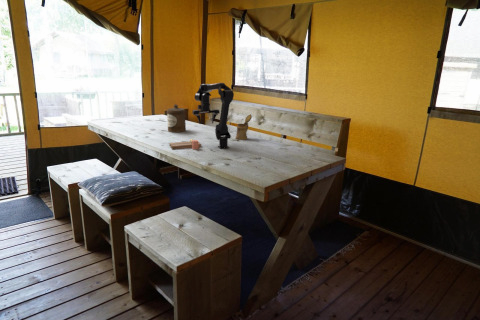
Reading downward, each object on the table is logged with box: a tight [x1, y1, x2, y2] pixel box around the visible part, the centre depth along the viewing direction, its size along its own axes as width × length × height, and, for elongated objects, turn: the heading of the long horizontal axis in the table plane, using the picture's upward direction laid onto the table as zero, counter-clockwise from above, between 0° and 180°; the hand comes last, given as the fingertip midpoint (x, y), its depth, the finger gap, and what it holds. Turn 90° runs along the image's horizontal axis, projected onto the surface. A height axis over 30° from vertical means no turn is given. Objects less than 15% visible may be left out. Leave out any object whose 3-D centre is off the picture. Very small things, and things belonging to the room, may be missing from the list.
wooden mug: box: [235, 114, 253, 141], centre depth 255 cm, size 9×14×18 cm, turn 127°
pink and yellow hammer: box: [189, 139, 200, 150], centre depth 229 cm, size 13×4×6 cm, turn 22°
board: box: [169, 140, 202, 150], centre depth 231 cm, size 10×20×2 cm, turn 112°
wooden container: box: [166, 104, 187, 133], centre depth 278 cm, size 15×15×22 cm
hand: (206, 123), depth 241 cm, fingers open, 9 cm apart
